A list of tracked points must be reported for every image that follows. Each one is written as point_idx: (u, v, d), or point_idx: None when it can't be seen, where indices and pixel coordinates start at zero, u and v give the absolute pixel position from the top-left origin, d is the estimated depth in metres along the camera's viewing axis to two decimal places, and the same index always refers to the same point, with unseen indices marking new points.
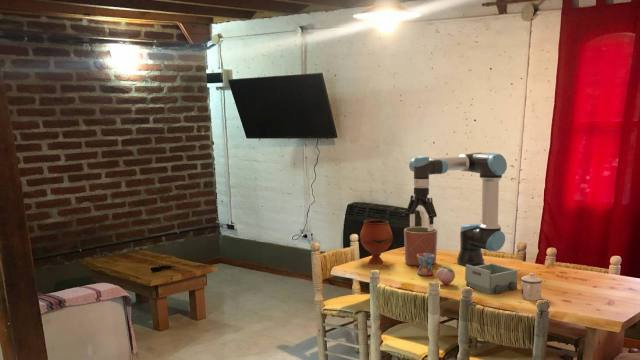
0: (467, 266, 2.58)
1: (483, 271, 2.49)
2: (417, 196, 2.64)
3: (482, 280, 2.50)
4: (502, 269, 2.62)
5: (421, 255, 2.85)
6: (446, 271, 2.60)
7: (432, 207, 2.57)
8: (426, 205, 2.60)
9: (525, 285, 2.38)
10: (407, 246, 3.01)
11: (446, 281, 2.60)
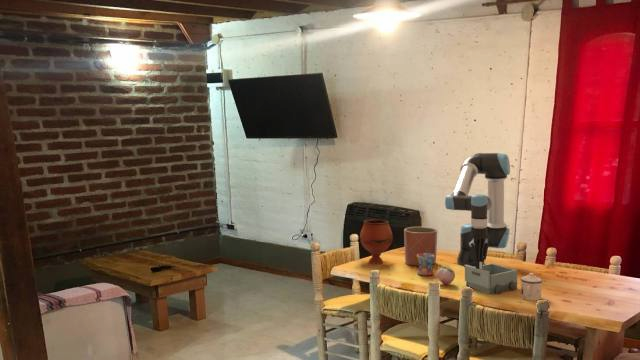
0: (466, 266, 2.58)
1: (482, 271, 2.49)
2: None
3: (482, 280, 2.50)
4: (502, 269, 2.62)
5: (421, 255, 2.85)
6: (446, 271, 2.60)
7: (472, 252, 2.50)
8: (476, 248, 2.51)
9: (525, 285, 2.38)
10: (407, 246, 3.01)
11: (446, 281, 2.60)
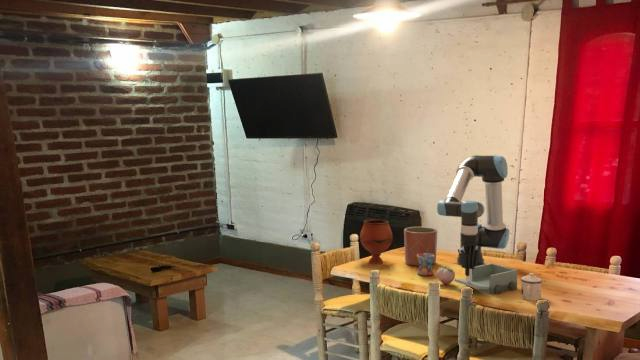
0: (456, 281, 2.55)
1: None
2: None
3: None
4: (502, 269, 2.62)
5: (421, 255, 2.85)
6: (446, 271, 2.60)
7: (462, 259, 2.47)
8: (466, 255, 2.48)
9: (525, 285, 2.38)
10: (407, 246, 3.01)
11: (446, 281, 2.60)
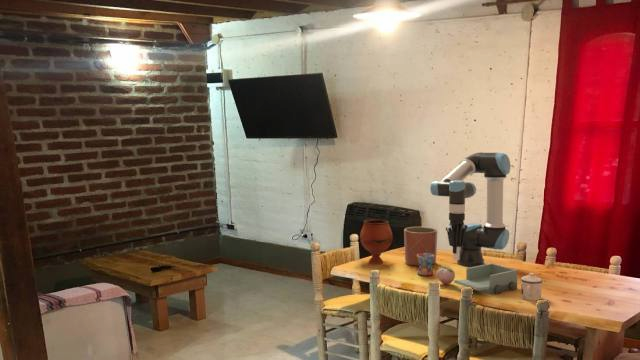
0: (456, 282, 2.55)
1: None
2: None
3: None
4: (502, 269, 2.62)
5: (421, 255, 2.85)
6: (446, 271, 2.60)
7: (449, 237, 2.53)
8: (453, 233, 2.55)
9: (525, 285, 2.38)
10: (407, 246, 3.01)
11: (446, 281, 2.60)
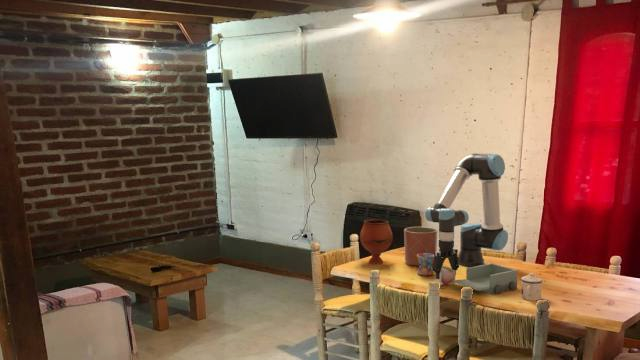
0: (456, 282, 2.55)
1: None
2: None
3: None
4: (502, 269, 2.62)
5: (421, 255, 2.85)
6: (446, 271, 2.60)
7: (435, 262, 2.59)
8: (440, 259, 2.61)
9: (525, 285, 2.38)
10: (407, 246, 3.01)
11: (446, 281, 2.60)
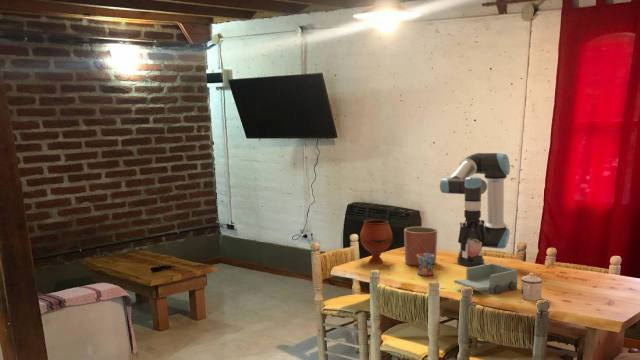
0: (456, 282, 2.55)
1: None
2: None
3: None
4: (502, 269, 2.62)
5: (421, 255, 2.85)
6: (472, 242, 2.46)
7: (461, 233, 2.46)
8: (466, 230, 2.48)
9: (525, 285, 2.38)
10: (407, 246, 3.01)
11: (472, 253, 2.47)
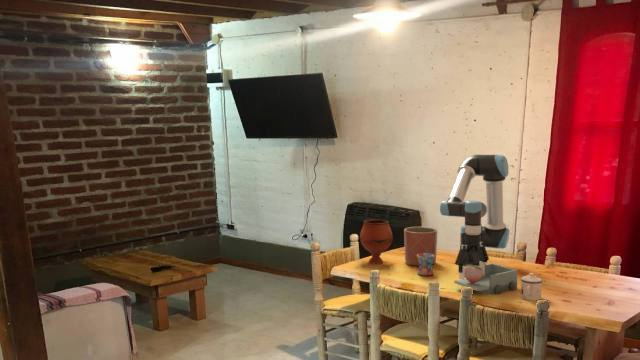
0: None
1: None
2: None
3: None
4: (502, 269, 2.62)
5: (421, 255, 2.85)
6: (474, 269, 2.48)
7: (460, 255, 2.46)
8: (465, 252, 2.48)
9: (525, 285, 2.38)
10: (407, 246, 3.01)
11: (473, 279, 2.48)
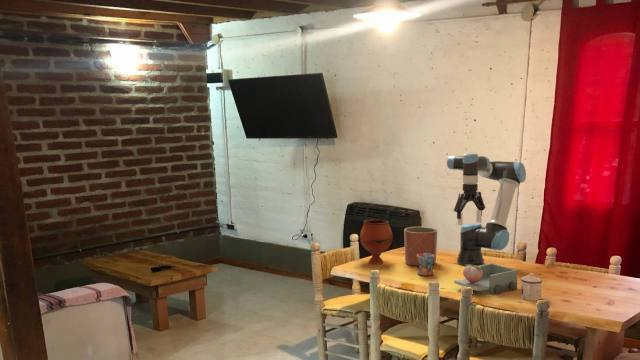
0: None
1: None
2: None
3: None
4: (502, 269, 2.62)
5: (421, 255, 2.85)
6: (474, 269, 2.48)
7: (458, 202, 2.68)
8: (463, 200, 2.70)
9: (525, 285, 2.38)
10: (407, 246, 3.01)
11: (473, 279, 2.48)
